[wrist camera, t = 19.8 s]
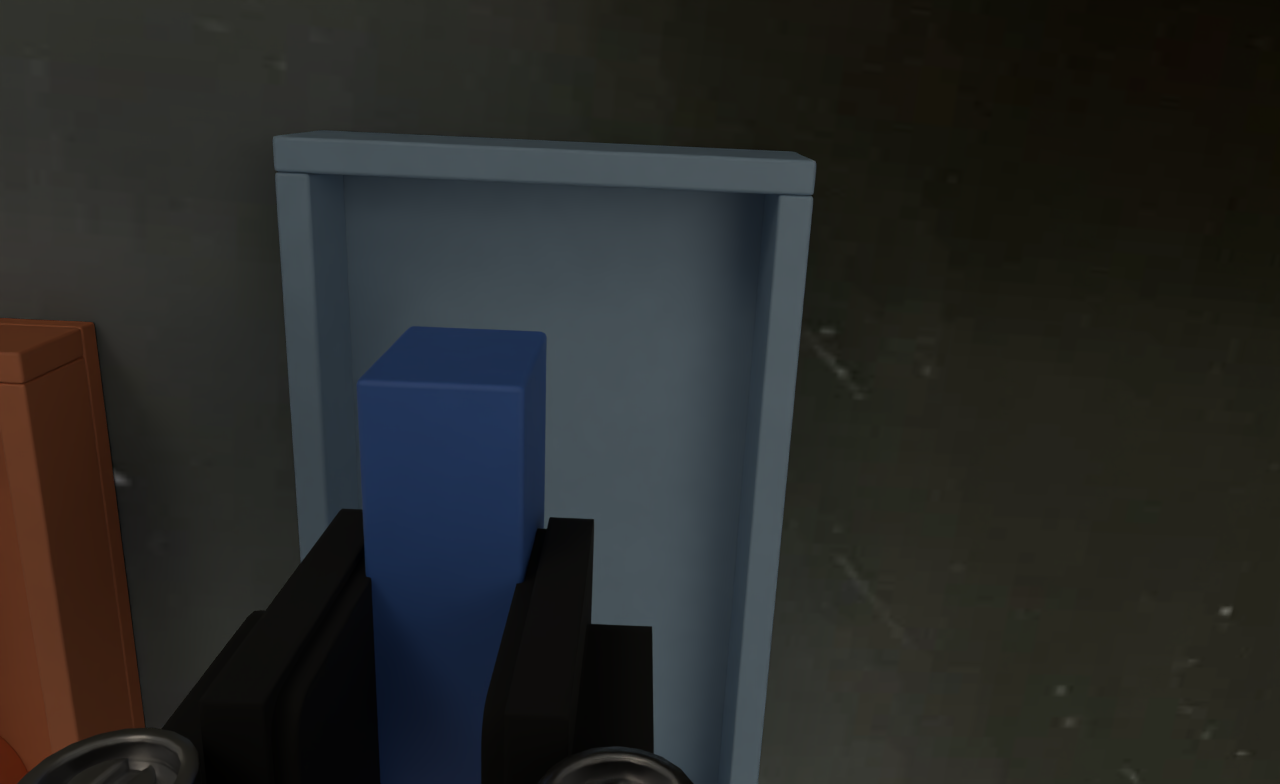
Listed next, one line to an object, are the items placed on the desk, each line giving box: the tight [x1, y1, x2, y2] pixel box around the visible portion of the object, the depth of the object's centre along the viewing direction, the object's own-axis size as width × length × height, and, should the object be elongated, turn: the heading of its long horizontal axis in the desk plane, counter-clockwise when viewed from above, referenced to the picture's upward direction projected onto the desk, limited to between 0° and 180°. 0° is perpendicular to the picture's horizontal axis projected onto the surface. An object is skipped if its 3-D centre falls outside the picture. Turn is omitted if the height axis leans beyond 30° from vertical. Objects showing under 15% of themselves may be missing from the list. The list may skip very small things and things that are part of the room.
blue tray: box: [273, 130, 816, 784], centre depth 20 cm, size 15×9×2 cm, turn 177°
